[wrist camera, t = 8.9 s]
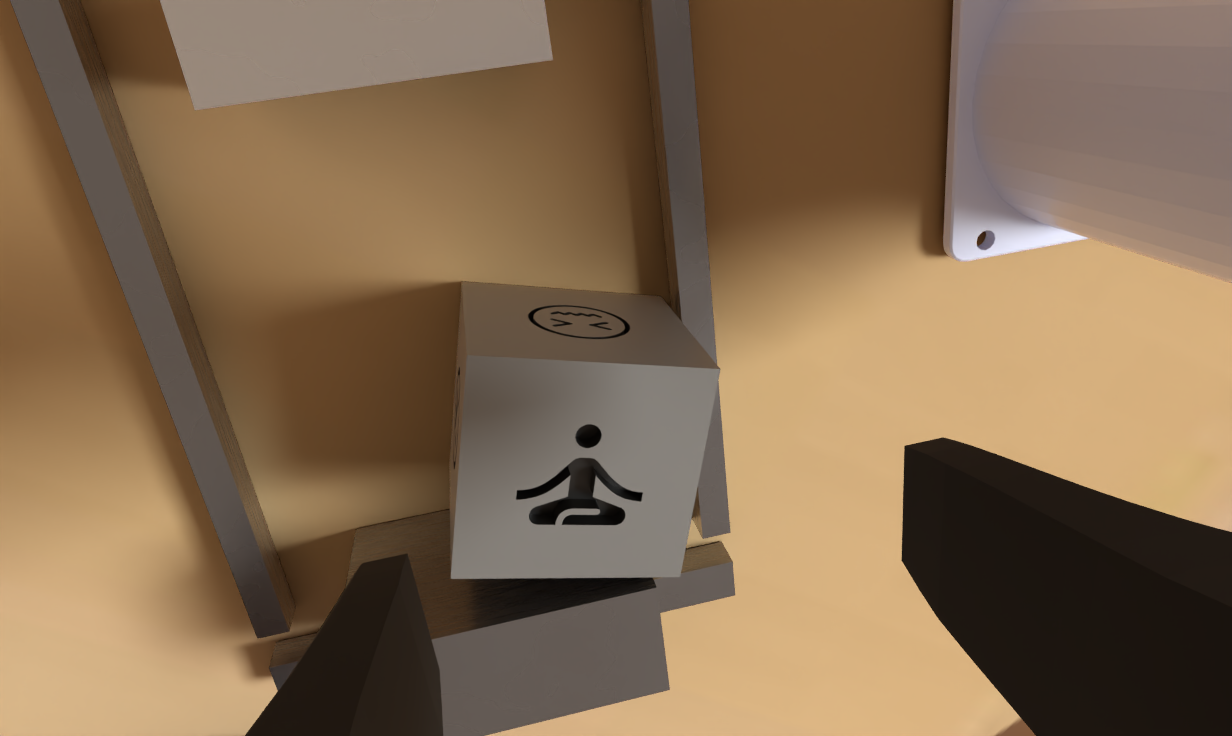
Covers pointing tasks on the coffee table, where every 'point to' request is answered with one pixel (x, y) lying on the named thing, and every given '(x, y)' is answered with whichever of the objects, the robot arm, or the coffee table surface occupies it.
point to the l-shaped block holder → (344, 43)
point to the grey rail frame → (454, 608)
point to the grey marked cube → (574, 434)
